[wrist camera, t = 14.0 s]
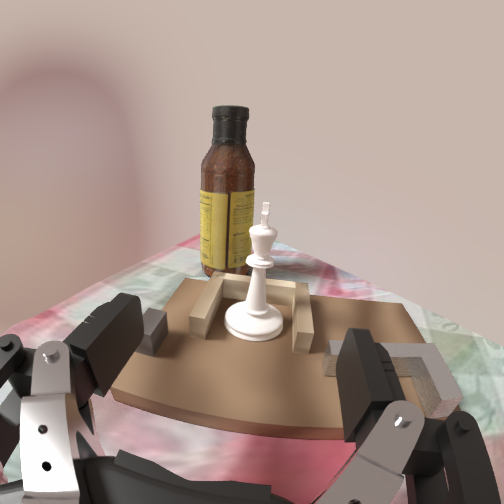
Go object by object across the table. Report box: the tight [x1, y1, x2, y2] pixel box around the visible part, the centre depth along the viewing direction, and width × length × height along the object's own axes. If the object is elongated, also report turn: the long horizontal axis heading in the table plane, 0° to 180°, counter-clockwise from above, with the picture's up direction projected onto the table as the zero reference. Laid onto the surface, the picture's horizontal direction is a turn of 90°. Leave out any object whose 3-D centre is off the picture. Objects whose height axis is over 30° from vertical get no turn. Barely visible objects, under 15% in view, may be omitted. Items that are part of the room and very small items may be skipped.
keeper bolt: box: [322, 340, 463, 419], centre depth 15 cm, size 9×6×2 cm, turn 83°
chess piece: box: [224, 202, 283, 341], centre depth 21 cm, size 5×5×10 cm
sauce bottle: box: [200, 105, 255, 277], centre depth 31 cm, size 6×6×20 cm
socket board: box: [110, 271, 461, 440], centre depth 20 cm, size 24×16×4 cm, turn 83°
